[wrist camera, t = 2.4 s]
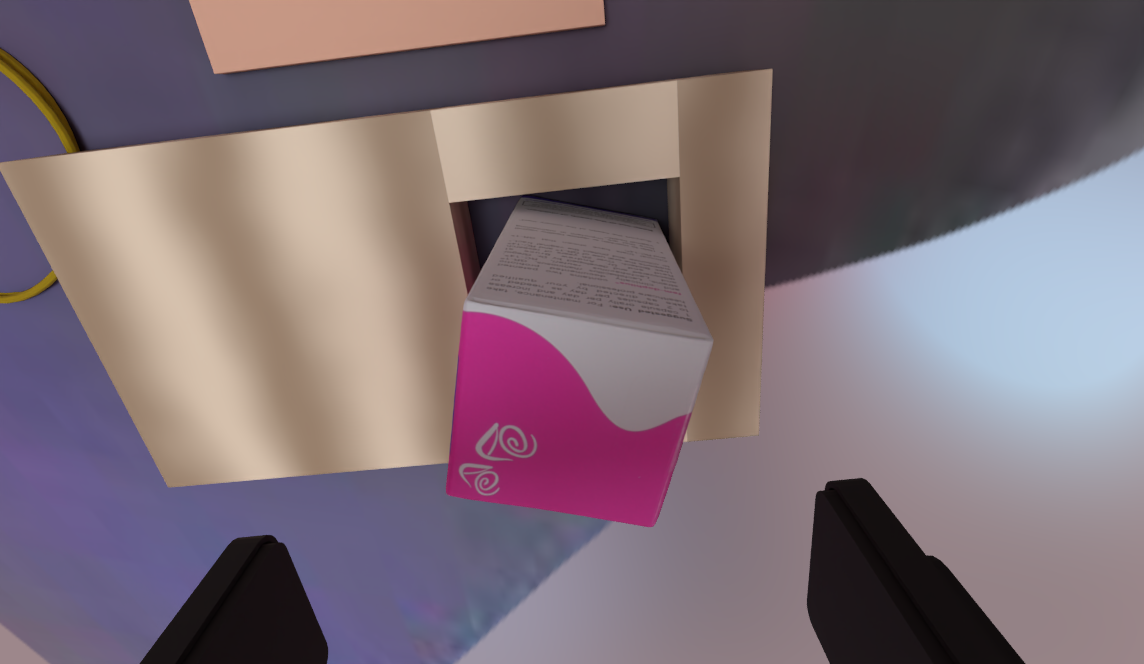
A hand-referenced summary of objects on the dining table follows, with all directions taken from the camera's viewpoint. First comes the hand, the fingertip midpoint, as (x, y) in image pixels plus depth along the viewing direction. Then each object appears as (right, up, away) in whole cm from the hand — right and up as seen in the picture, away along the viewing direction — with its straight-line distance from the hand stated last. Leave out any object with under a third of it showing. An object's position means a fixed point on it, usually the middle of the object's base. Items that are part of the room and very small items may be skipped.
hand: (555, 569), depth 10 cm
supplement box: (0, +7, +14) cm, 15 cm away
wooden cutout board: (-5, +6, +14) cm, 16 cm away
